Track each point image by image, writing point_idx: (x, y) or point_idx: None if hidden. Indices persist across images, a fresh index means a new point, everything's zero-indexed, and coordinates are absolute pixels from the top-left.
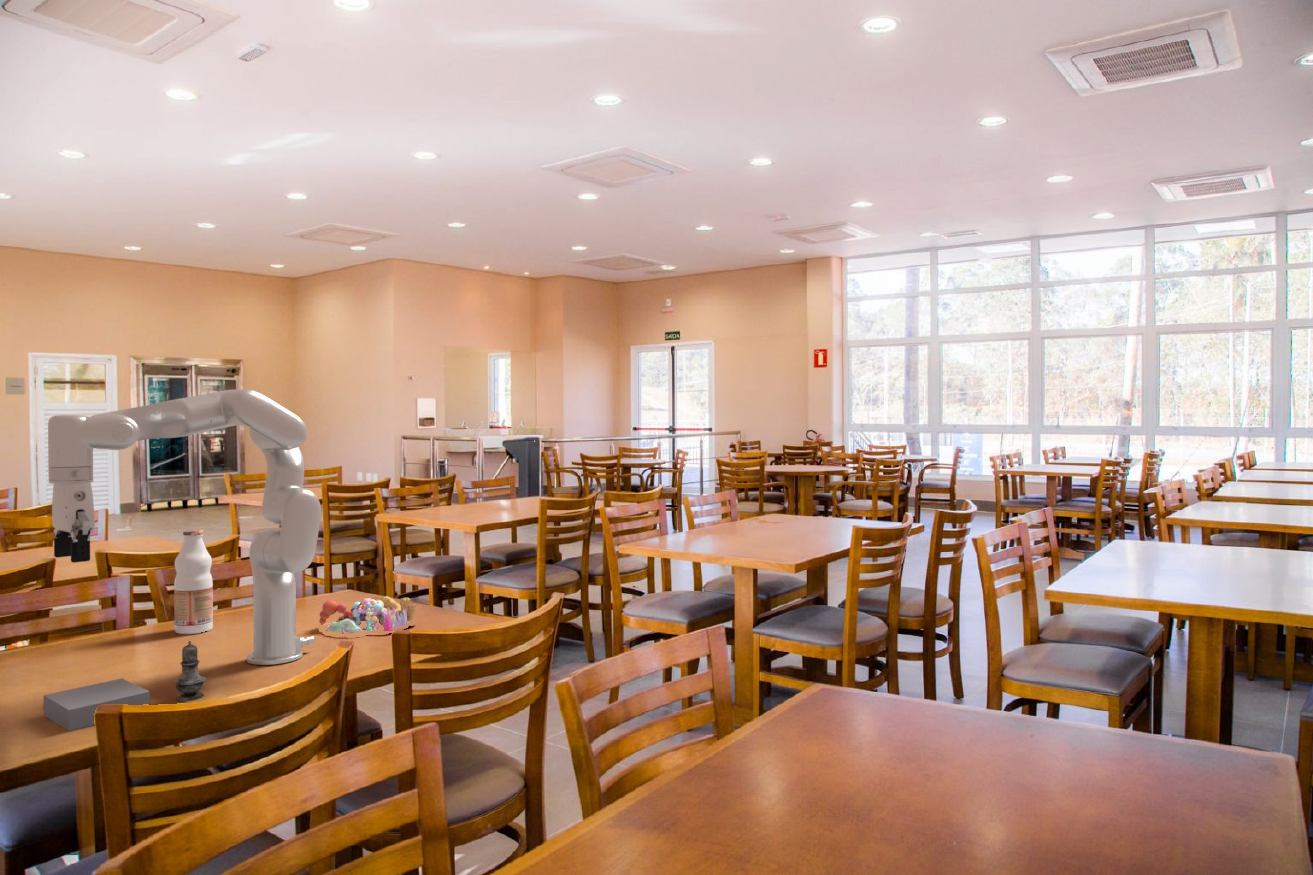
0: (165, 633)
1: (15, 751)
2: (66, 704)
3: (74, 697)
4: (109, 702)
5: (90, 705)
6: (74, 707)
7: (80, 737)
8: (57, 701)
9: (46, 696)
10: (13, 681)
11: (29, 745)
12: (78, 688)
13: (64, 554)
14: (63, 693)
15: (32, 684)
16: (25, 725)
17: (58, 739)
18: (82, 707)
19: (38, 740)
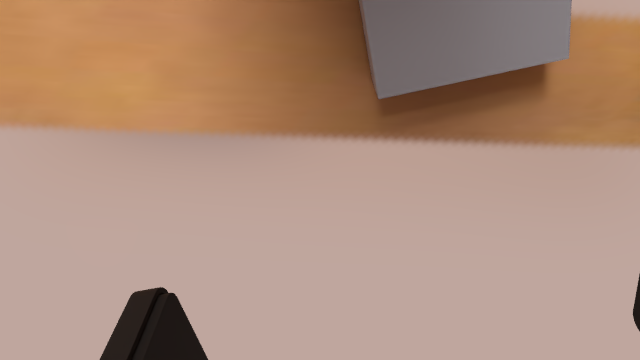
0: None
1: (585, 139)
2: (511, 59)
3: (460, 36)
4: None
5: (570, 8)
6: (556, 45)
7: (611, 28)
8: (465, 75)
9: (397, 94)
10: (16, 123)
11: (571, 117)
12: (374, 19)
13: (192, 351)
14: (397, 57)
15: (67, 88)
16: (424, 117)
17: (582, 69)
18: (568, 27)
19: (553, 102)
